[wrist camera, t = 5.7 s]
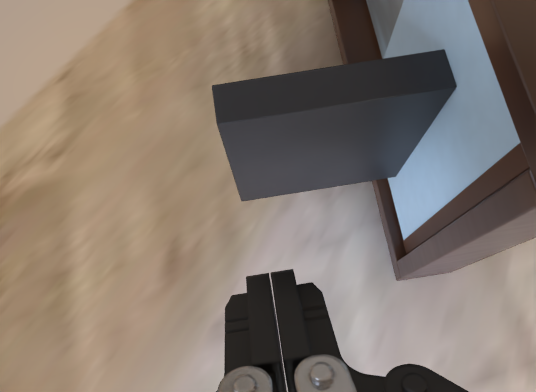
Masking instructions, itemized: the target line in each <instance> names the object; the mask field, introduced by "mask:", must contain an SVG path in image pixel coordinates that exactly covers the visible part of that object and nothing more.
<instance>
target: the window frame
mask: <svg viewBox="0 0 536 392" xmlns="http://www.w3.org/2000/svg"><path fill="white" fill-rule="evenodd" d="M403 1H404V0H328V3H329V7H330V11H331V15H332V20H333V24H334V28H335V32H336V36H337V40H338V44H339V48H340V52H341V56H342V60H343V64H344V65H346V64H352V63H359V62H365V61H372V60H378V59H384V56H385V53H386V50H387V47H388V44H389V41H390V38H391V36H392V33H393V30H394V27H395V24H396V21H397V18H398V15H399V13H400V10H401V7H402V4H403ZM468 2H469V5H470V8H471V10H472V13H473V16H474V18H475V21H476V24H477V27H478V29H479V32H480V35H481V37H482V40H483V43H484V45H485V48H486V51H487V54H488V56H489V59H490V62H491V64H492V67H493V70H494V72H495V75H496V78H497V81H498V83H499V86H500V89H501V91H502V94H503V97H504V99H505V102H506V105H507V108H508V110H509V113H510V116H511V118H512V121H513V124H514V126H515V129H516V132H517V135H518V137H519V140H520V143H521V145H522V148H523V151H524V153H525V156H526V159H527V162H528V164H529V167H530V168H529V169H528V170H526V171H525V172H523V173H522V174H521V175H519V176H518V177H516V178H515V179H514V180H512V181H511V182H509V183H508V184H506V185H505V186H504V187H502V188H501V189H499V190H498V191H496V192H495V193H494V194H492V195H491V196H489V197H488V198H486V199H485V200H484V201H482V202H481V203H479V204H478V205H477V206H475V207H474V208H472V209H471V210H469V211H468V212H467V213H465V214H464V215H462V216H461V217H459V218H458V219H457V220H455V221H454V222H452V223H451V224H449V225H448V226H447V227H445V228H444V229H442V230H441V231H440V232H438V233H437V234H435V235H434V236H432V237H431V238H430V239H428V240H427V241H425V242H424V243H422V244H421V245H420V246H418V247H417V248H415V249H414V250H412V251H411V252H410V253H408V254H406V251H405V247H404V243H403V236H402V232H401V228H400V224H399V220H398V216H397V213H396V209H395V205H394V201H393V197H392V193H391V189H390V185H389V182H388V178H385V179H379V180H373V181H372V182H373V186H374V191H375V195H376V199H377V203H378V207H379V211H380V215H381V219H382V223H383V227H384V231H385V235H386V239H387V243H388V248H389V252H390V256H391V260H392V264H393V268H394V272H395V276H396V280H397V281H400V280H406V279H412V278H418V277H425V276H431V275H437V274H443V273H449V272H452V271H455V270H457V269H460V268H462V267H464V266H467V265H469V264H472V263H474V262H477V261H479V260H482V259H484V258H487V257H489V256H491V255H494V254H496V253H499V252H501V251H504V250H506V249H509V248H511V247H513V246H516V245H518V244H521V243H523V242H526V241H528V240H531V239H533V238H535V237H536V0H468Z"/></svg>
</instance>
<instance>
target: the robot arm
mask: <svg viewBox="0 0 536 392" xmlns="http://www.w3.org/2000/svg"><path fill="white" fill-rule="evenodd" d="M271 279H272V286H273V293H274V300H275V307H276V314H277V320H276V314H275V308H274V302H273V296H272V290H271V284H270V278H269V273H266V274H259V275H253V276H247V277H246V283H247V293H244V294H237V295H232V296H231V298H230V300H229V302H228V304H227V305H226V307H225V373H224V378H223V379H222V381H221V382H220V384H219V387H218V390H217V391H216V392H287V391H286V384H285V377H284V370H283V363H282V356H283V362H284V368H285V374H286V381H287V387H288V392H468V391H467V390H465V389H463V388H461V387H460V386H458V385H456V384H454V383H453V382H451V381H449V380H447V379H446V378H444V377H442V376H440V375H439V374H437V373H435V372H433V371H432V370H430V369H428V368H426V367H423V366H420V365H415V364H404V365H400V366H397V367H395V368H393V369H392V370H391V371H389V373H388V374H387V375H386V377H382V376H374V375H367V374H363V373H360V372H358V371H356V370H354V369H352V368H351V367H349V366H348V365H347V364H346V363H345V362H344V360H343V359H342V357H341V354H340V351H339V348H338V345H337V341H336V338H335V335H334V331H333V328H332V324H331V321H330V318H329V314H328V311H327V308H326V304H325V301H324V297H323V294H322V292H321V291H320V290H319V289H318V288H317V287H316V286H315V285H314V284H313V283H306V284H299V285H296V280H295V276H294V271H293V269H290V270H284V271H278V272H271ZM277 321H278V327H277ZM278 328H279V334H278ZM279 335H280V341H279ZM280 342H281V348H280ZM281 349H282V355H281Z"/></svg>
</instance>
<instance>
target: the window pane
mask: <svg viewBox="0 0 536 392" xmlns="http://www.w3.org/2000/svg"><path fill="white" fill-rule="evenodd" d="M212 91H213V98H214V106H215V113H216V121H217V126H218V129H219V132H220V135H221V138H222V141H223V145H224V148H225V151H226V154H227V157H228V160H229V163H230V167H231V170H232V173H233V176H234V179H235V182H236V185H237V189H238V192H239V195H240V198H241V201H248V200H254V199H260V198H267V197H273V196H279V195H285V194H292V193H298V192H304V191H310V190H317V189H323V188H329V187H335V186H342V185H348V184H354V183H360V182H367V181H373V180H379V179H385V178H388V182H389V185H390V189H391V193H392V197H393V201H394V205H395V209H396V213H397V216H398V220H399V224H400V228H401V232H402V236H403V243H404V247H405V251H406V254H408V253H410V252H411V251H412V250H414V249H415V248H417V247H418V246H420V245H421V244H422V243H424V242H425V241H427V240H428V239H430V238H431V237H432V236H434V235H435V234H437V233H438V232H440V231H441V230H442V229H444V228H445V227H447V226H448V225H449V224H451V223H452V222H454V221H455V220H457V219H458V218H459V217H461V216H462V215H464V214H465V213H467V212H468V211H469V210H471V209H472V208H474V207H475V206H477V205H478V204H479V203H481V202H482V201H484V200H485V199H486V198H488V197H489V196H491V195H492V194H494V193H495V192H496V191H498V190H499V189H501V188H502V187H504V186H505V185H506V184H508V183H509V182H511V181H512V180H514V179H515V178H516V177H518V176H519V175H521V174H522V173H523V172H525V171H526V170H528V169H529V168H530V167H529V164H528V162H527V159H526V156H525V153H524V151H523V148H522V145H521V143H520V140H519V137H518V135H517V132H516V129H515V126H514V124H513V121H512V118H511V116H510V113H509V110H508V108H507V105H506V102H505V99H504V97H503V94H502V91H501V89H500V86H499V83H498V81H497V78H496V75H495V72H494V70H493V67H492V64H491V62H490V59H489V56H488V54H487V51H486V48H485V45H484V43H483V40H482V37H481V35H480V32H479V29H478V27H477V24H476V21H475V18H474V16H473V13H472V10H471V8H470V5H469V2H468V0H404V1H403V4H402V7H401V10H400V13H399V15H398V18H397V21H396V24H395V27H394V30H393V33H392V36H391V38H390V41H389V44H388V47H387V50H386V53H385V56H384V59H378V60H372V61H365V62H359V63H352V64H346V65H340V66H333V67H327V68H320V69H314V70H308V71H301V72H295V73H289V74H282V75H276V76H269V77H263V78H257V79H250V80H244V81H237V82H231V83H225V84H218V85H213V86H212Z"/></svg>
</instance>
